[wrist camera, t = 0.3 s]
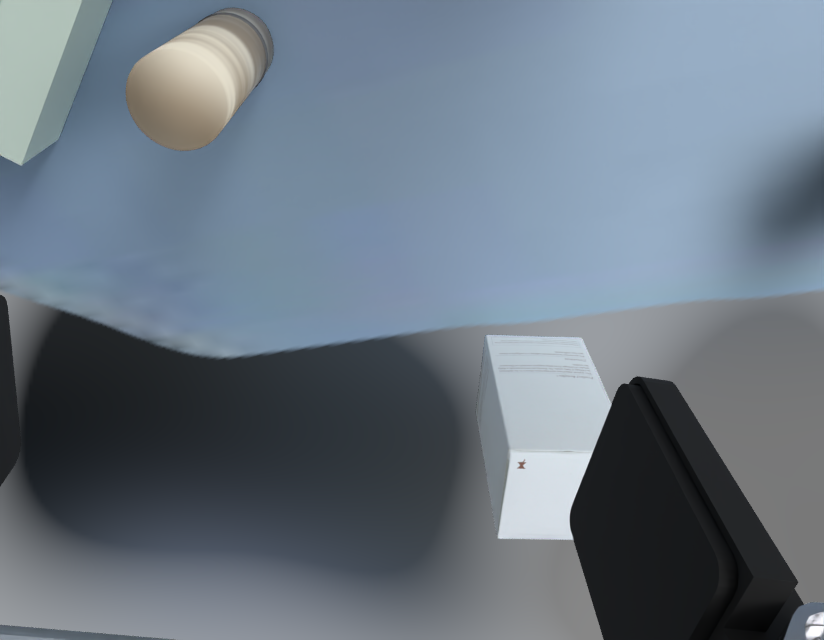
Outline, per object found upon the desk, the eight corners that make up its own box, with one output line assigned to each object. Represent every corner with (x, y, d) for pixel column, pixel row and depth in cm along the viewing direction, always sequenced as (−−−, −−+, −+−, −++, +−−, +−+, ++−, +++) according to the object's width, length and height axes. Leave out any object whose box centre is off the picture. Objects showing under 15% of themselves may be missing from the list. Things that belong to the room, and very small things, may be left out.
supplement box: (473, 413, 55) (491, 541, 44) (484, 331, 51) (507, 448, 40) (568, 417, 55) (610, 545, 44) (586, 335, 51) (637, 453, 40)
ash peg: (224, -13, 39) (147, 26, 27) (290, 30, 40) (245, 85, 28) (194, 54, 41) (109, 118, 29) (258, 92, 42) (202, 169, 30)
